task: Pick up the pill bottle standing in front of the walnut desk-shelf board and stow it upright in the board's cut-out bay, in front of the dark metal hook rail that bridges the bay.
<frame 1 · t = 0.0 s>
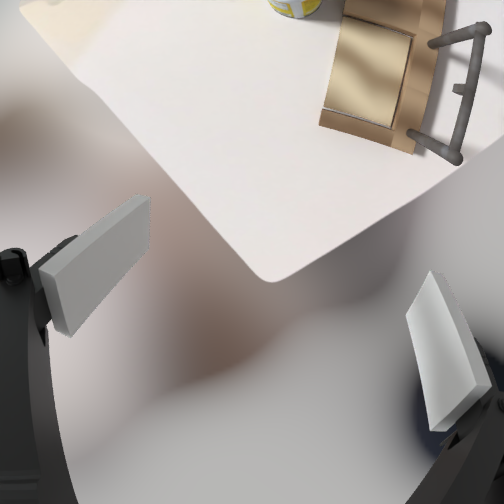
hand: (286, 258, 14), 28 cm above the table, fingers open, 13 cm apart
shelf board: (391, 22, 27), on the table
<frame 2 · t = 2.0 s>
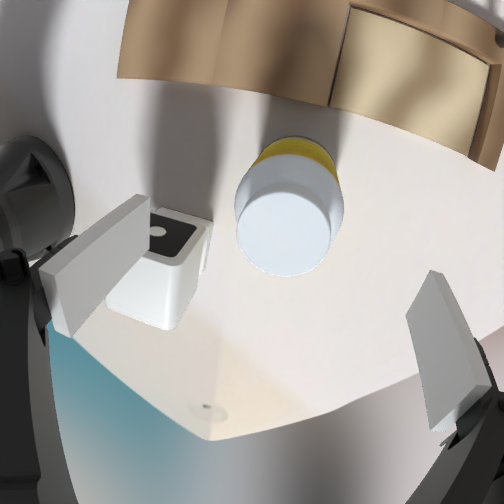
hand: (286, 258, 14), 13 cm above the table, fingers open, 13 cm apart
shelf board: (327, 33, 19), on the table
pill bottle: (296, 172, 25), on the table
security camera: (184, 231, 30), on the table
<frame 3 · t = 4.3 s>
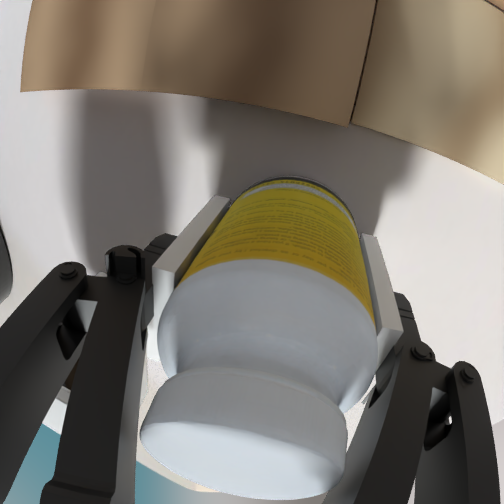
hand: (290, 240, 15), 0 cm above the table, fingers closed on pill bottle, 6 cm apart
pill bottle: (291, 234, 16), on the table, touching gripper
security camera: (133, 303, 21), on the table
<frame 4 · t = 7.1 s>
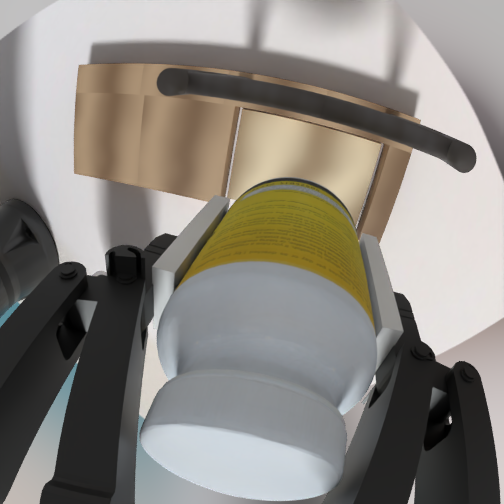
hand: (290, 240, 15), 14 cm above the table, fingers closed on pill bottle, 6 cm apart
shelf board: (224, 134, 27), on the table
pill bottle: (291, 235, 16), point 14 cm above the table, touching gripper
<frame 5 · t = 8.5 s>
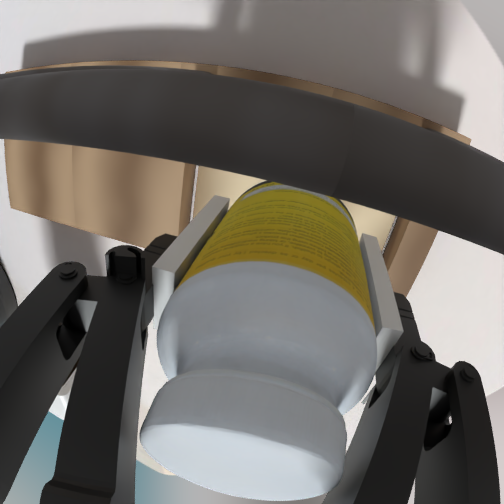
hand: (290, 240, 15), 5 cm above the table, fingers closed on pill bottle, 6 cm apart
shelf board: (181, 157, 19), on the table
pill bottle: (291, 235, 16), point 4 cm above the table, touching gripper
security camera: (96, 331, 30), on the table
when the fingers open (2 cm above the table, at t = 9.9 s): pill bottle drops 1 cm, resting on shelf board.
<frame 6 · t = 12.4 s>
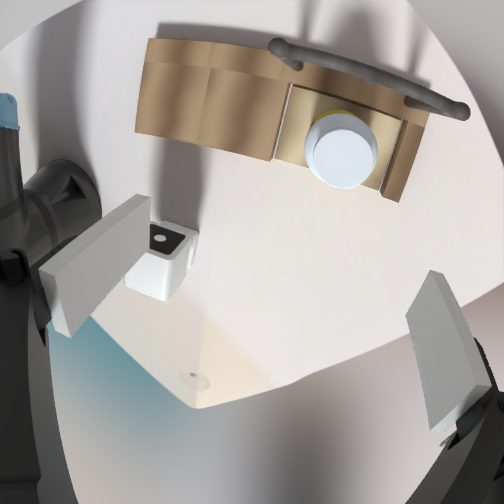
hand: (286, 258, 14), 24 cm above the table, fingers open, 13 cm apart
shelf board: (275, 106, 32), on the table
pill bottle: (337, 137, 32), resting on shelf board
security camera: (179, 237, 43), on the table
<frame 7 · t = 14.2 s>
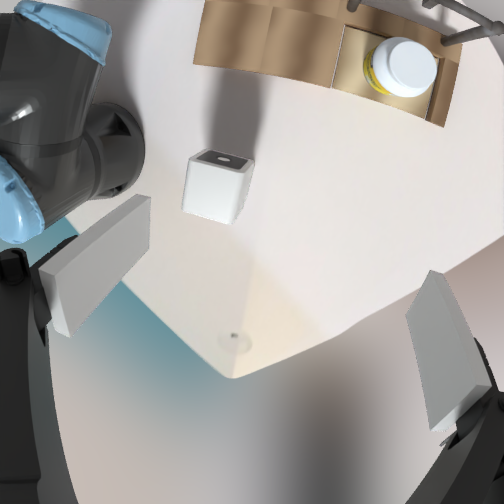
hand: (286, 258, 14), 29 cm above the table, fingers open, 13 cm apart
shelf board: (331, 42, 31), on the table
pill bottle: (386, 70, 31), resting on shelf board
security camera: (232, 171, 42), on the table
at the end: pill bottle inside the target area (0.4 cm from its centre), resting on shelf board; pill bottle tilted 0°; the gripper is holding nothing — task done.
